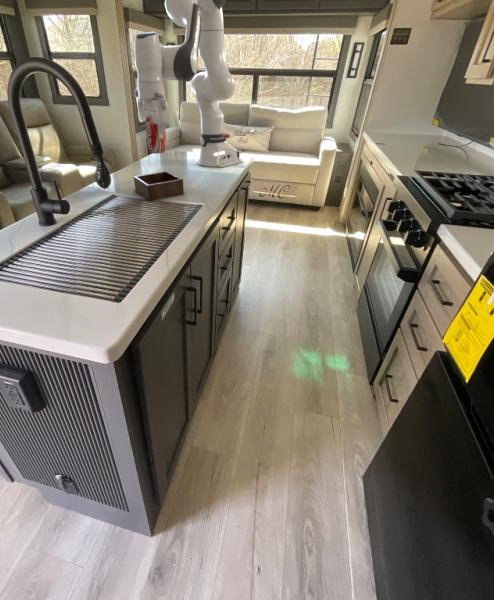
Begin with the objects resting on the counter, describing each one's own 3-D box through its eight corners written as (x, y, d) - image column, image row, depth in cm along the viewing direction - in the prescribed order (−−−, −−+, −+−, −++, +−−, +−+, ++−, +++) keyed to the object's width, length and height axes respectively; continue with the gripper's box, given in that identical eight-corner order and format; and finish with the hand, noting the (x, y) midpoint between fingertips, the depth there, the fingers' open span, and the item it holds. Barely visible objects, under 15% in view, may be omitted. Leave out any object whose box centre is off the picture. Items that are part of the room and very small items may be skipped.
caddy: (168, 184, 139) (166, 171, 136) (183, 193, 129) (182, 179, 126) (135, 190, 133) (133, 176, 130) (149, 200, 123) (147, 185, 120)
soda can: (144, 152, 124) (140, 116, 117) (160, 149, 128) (156, 114, 121) (155, 155, 120) (151, 117, 113) (170, 152, 123) (168, 115, 116)
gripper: (173, 93, 106) (175, 140, 114) (148, 90, 121) (152, 132, 129) (155, 94, 104) (159, 142, 112) (132, 91, 118) (137, 133, 126)
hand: (155, 136), depth 120 cm, fingers closed on soda can, 7 cm apart
